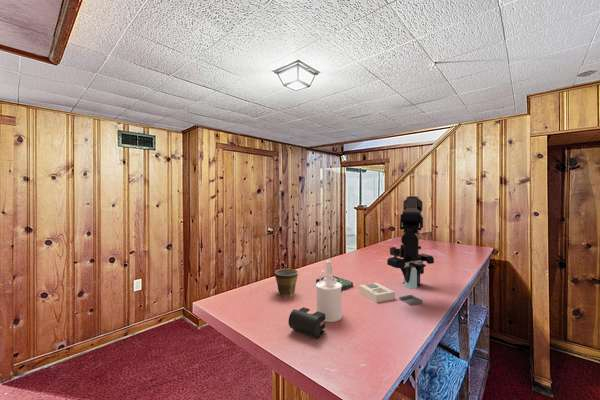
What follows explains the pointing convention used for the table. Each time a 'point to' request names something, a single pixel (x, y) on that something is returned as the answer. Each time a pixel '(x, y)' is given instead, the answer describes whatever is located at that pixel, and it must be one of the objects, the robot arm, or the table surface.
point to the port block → (376, 292)
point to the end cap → (307, 322)
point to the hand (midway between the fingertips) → (410, 282)
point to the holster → (410, 299)
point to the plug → (412, 279)
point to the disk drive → (345, 283)
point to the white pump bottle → (329, 296)
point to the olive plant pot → (286, 281)
